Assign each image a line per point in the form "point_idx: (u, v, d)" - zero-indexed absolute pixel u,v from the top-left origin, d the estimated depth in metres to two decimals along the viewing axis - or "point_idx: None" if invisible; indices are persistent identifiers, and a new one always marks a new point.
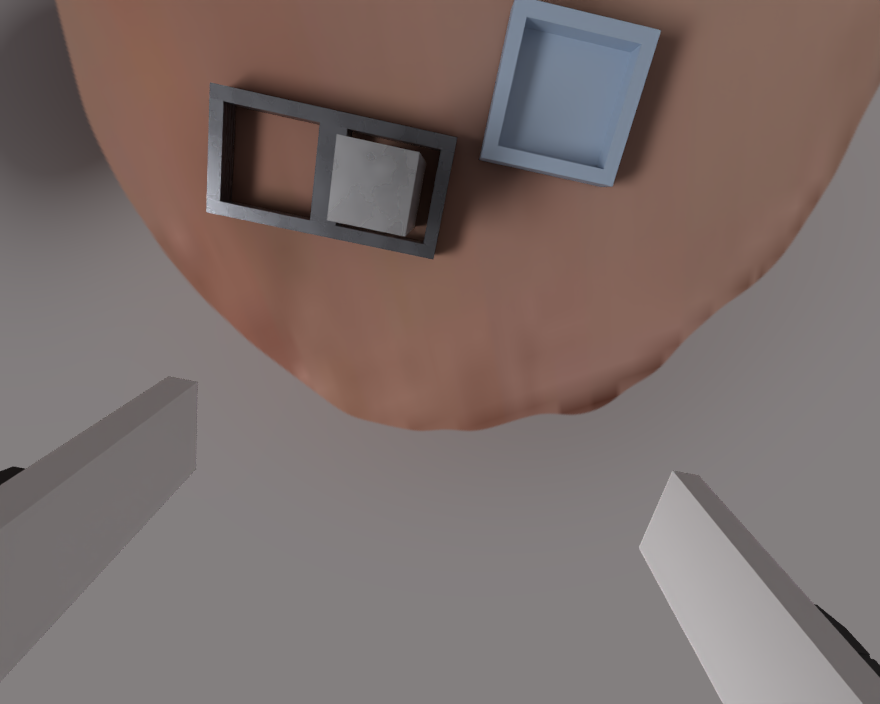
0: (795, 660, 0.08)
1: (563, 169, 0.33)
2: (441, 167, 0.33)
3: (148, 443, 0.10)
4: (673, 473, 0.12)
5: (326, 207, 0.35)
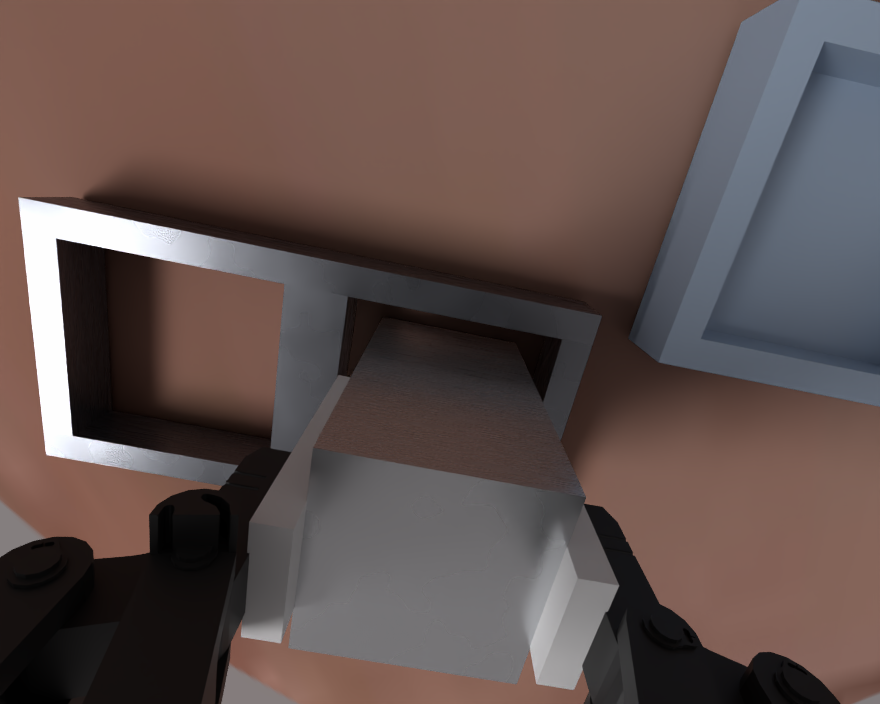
0: None
1: (845, 387, 0.14)
2: (560, 374, 0.15)
3: None
4: None
5: None
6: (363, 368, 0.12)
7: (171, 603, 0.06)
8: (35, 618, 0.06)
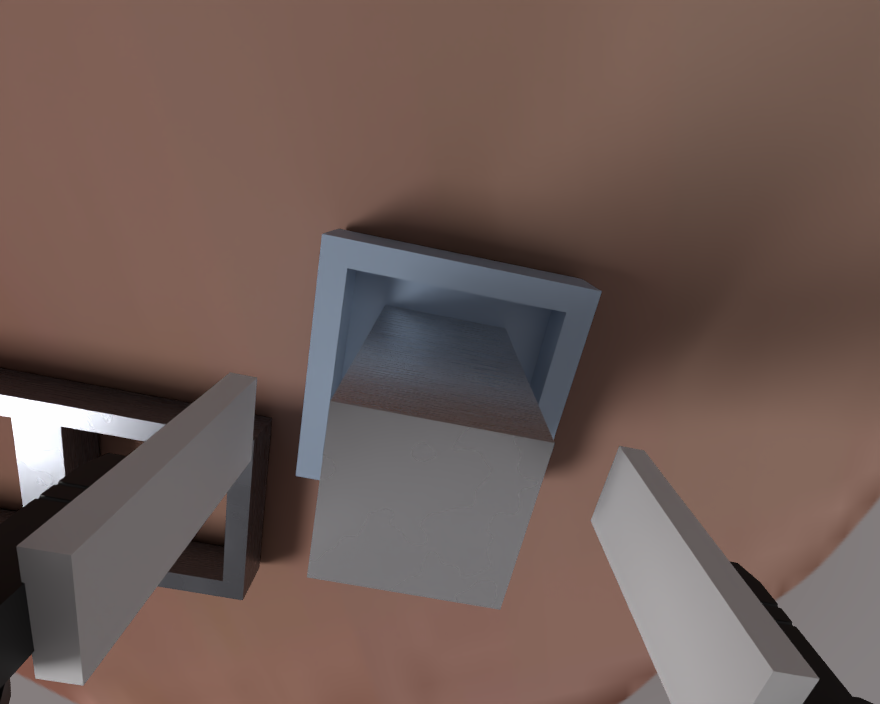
0: (703, 606, 0.09)
1: None
2: None
3: (221, 433, 0.11)
4: (619, 448, 0.13)
5: None
6: (369, 345, 0.13)
7: None
8: None
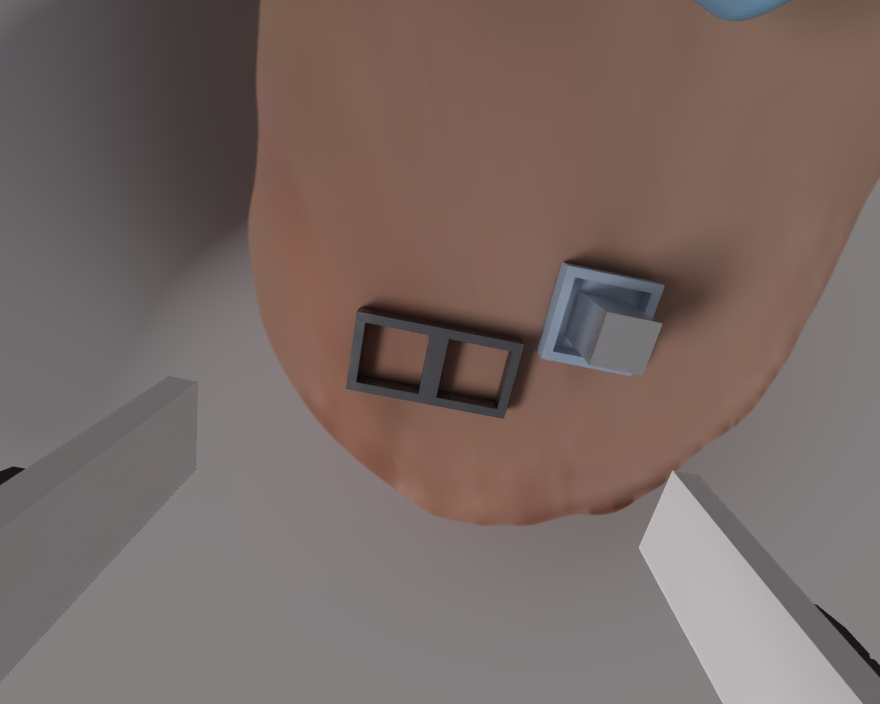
0: (795, 660, 0.08)
1: None
2: (512, 362, 0.48)
3: (148, 443, 0.10)
4: (673, 473, 0.12)
5: (430, 386, 0.49)
6: (595, 302, 0.42)
7: None
8: None
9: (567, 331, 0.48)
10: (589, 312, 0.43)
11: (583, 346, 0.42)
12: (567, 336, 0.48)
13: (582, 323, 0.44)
